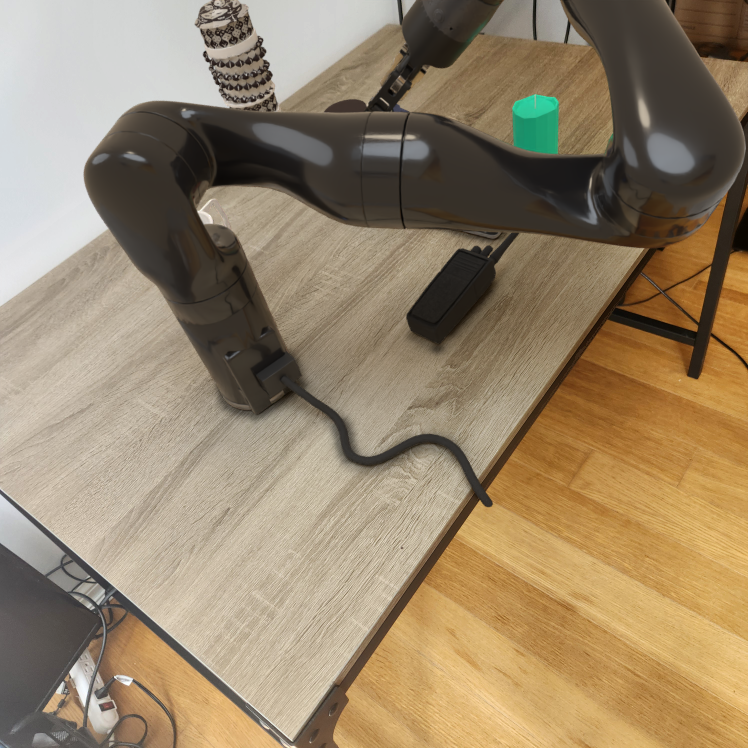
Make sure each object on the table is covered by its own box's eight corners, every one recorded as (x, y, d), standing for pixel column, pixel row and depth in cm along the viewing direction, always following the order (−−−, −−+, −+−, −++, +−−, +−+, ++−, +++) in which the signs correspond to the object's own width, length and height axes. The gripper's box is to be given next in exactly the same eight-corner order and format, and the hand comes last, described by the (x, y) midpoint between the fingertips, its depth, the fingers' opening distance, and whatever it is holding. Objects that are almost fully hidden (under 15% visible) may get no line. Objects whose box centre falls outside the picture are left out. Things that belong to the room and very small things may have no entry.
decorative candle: (292, 172, 107) (238, 13, 88) (240, 177, 109) (177, 22, 90) (304, 142, 112) (256, -14, 93) (254, 147, 114) (198, -5, 96)
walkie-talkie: (393, 317, 77) (486, 210, 84) (428, 353, 78) (518, 245, 85) (414, 306, 72) (512, 192, 78) (452, 345, 73) (546, 229, 79)
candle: (565, 175, 92) (568, 94, 83) (528, 191, 91) (526, 111, 82) (543, 156, 96) (543, 77, 87) (507, 171, 95) (503, 93, 86)
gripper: (458, 67, 68) (378, 159, 81) (493, 7, 76) (415, 99, 88) (403, 16, 66) (330, 119, 79) (445, -41, 74) (372, 61, 86)
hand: (375, 108), depth 84 cm, fingers open, 8 cm apart
